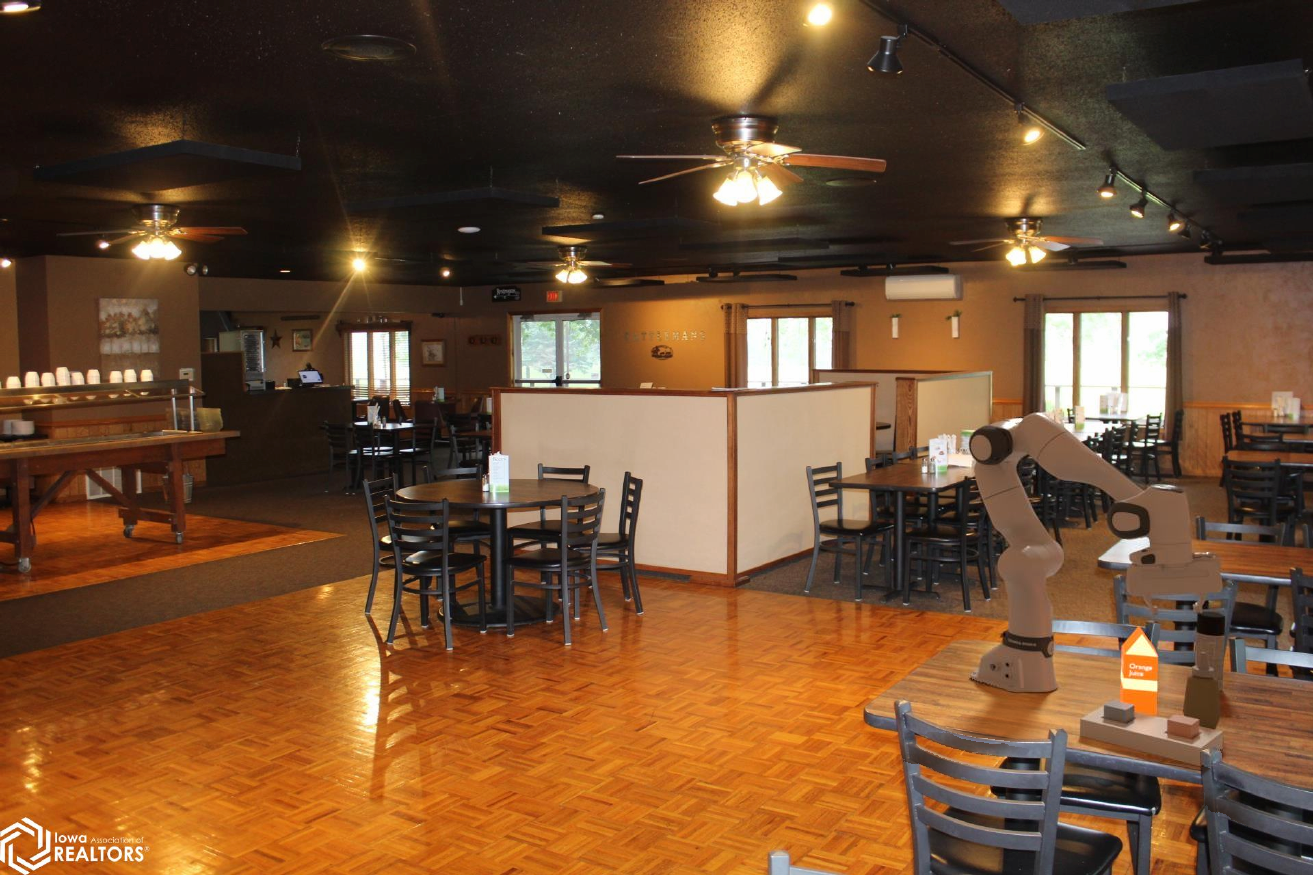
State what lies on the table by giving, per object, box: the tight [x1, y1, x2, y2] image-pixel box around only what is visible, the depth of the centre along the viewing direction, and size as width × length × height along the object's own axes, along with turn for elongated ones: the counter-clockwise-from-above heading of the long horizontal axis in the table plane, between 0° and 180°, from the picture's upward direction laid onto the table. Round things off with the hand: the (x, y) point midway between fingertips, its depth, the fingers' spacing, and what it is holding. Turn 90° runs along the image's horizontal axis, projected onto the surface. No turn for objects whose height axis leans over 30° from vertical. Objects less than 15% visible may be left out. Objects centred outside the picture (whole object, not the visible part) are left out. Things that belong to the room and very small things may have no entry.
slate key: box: [1103, 699, 1135, 724], centre depth 241 cm, size 5×5×4 cm
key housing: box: [1079, 705, 1224, 767], centre depth 236 cm, size 26×14×4 cm, turn 44°
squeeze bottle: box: [1182, 652, 1222, 730], centre depth 244 cm, size 8×8×18 cm
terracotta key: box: [1166, 713, 1199, 740], centre depth 231 cm, size 5×5×4 cm
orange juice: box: [1119, 625, 1159, 716], centre depth 259 cm, size 8×9×20 cm
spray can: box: [1194, 610, 1226, 692], centre depth 274 cm, size 7×7×20 cm
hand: (1175, 613), depth 242 cm, fingers open, 8 cm apart
